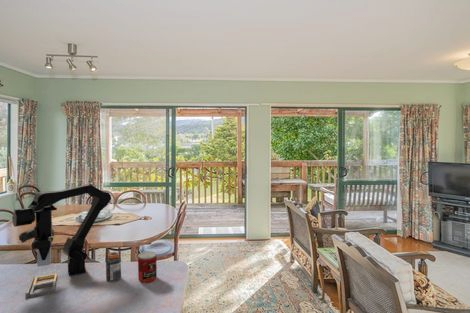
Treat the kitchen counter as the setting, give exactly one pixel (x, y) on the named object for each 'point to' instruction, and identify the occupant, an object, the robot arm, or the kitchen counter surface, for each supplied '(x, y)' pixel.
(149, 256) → the canned food
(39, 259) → the blue-grey box
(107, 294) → the kitchen counter surface
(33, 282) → the cubby shelf with drawer
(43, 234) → the robot arm
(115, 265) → the pill bottle
